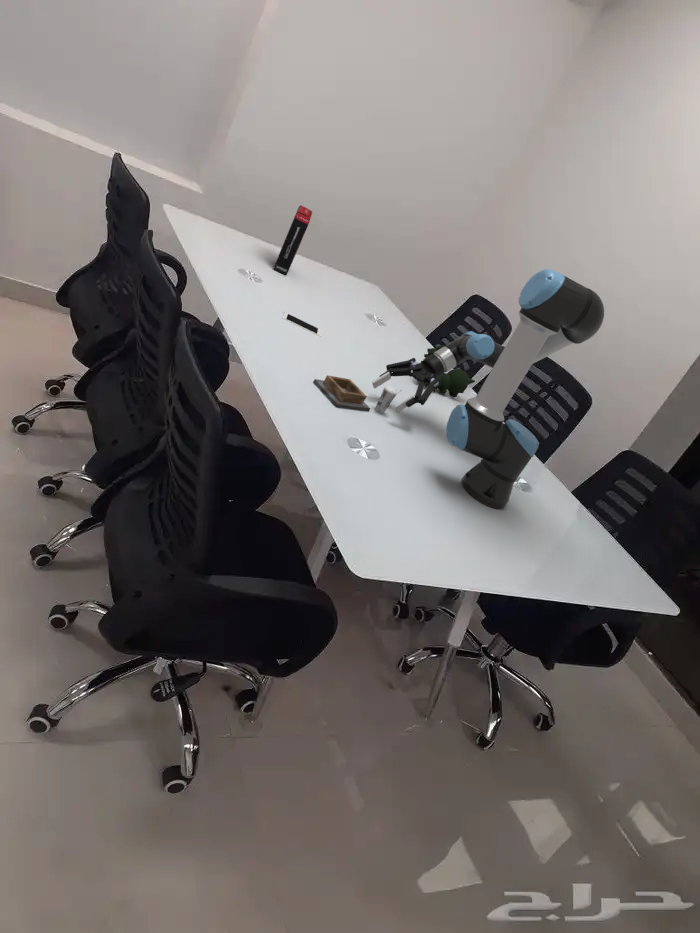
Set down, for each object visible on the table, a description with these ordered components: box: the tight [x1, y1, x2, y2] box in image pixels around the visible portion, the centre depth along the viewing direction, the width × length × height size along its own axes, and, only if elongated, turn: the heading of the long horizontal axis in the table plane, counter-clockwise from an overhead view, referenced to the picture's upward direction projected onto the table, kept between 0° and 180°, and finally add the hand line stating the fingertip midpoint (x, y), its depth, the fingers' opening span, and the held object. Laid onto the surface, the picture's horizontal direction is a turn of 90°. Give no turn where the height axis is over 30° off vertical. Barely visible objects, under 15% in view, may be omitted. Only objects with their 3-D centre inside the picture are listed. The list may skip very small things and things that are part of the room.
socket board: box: [313, 374, 371, 412], centre depth 226 cm, size 14×14×4 cm
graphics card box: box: [273, 204, 313, 276], centre depth 314 cm, size 17×7×27 cm, turn 1°
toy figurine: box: [420, 344, 476, 398], centre depth 275 cm, size 9×19×25 cm
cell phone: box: [282, 312, 324, 338], centre depth 269 cm, size 8×16×1 cm, turn 89°
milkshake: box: [374, 384, 403, 415], centre depth 230 cm, size 4×5×10 cm
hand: (384, 397), depth 229 cm, fingers open, 13 cm apart
